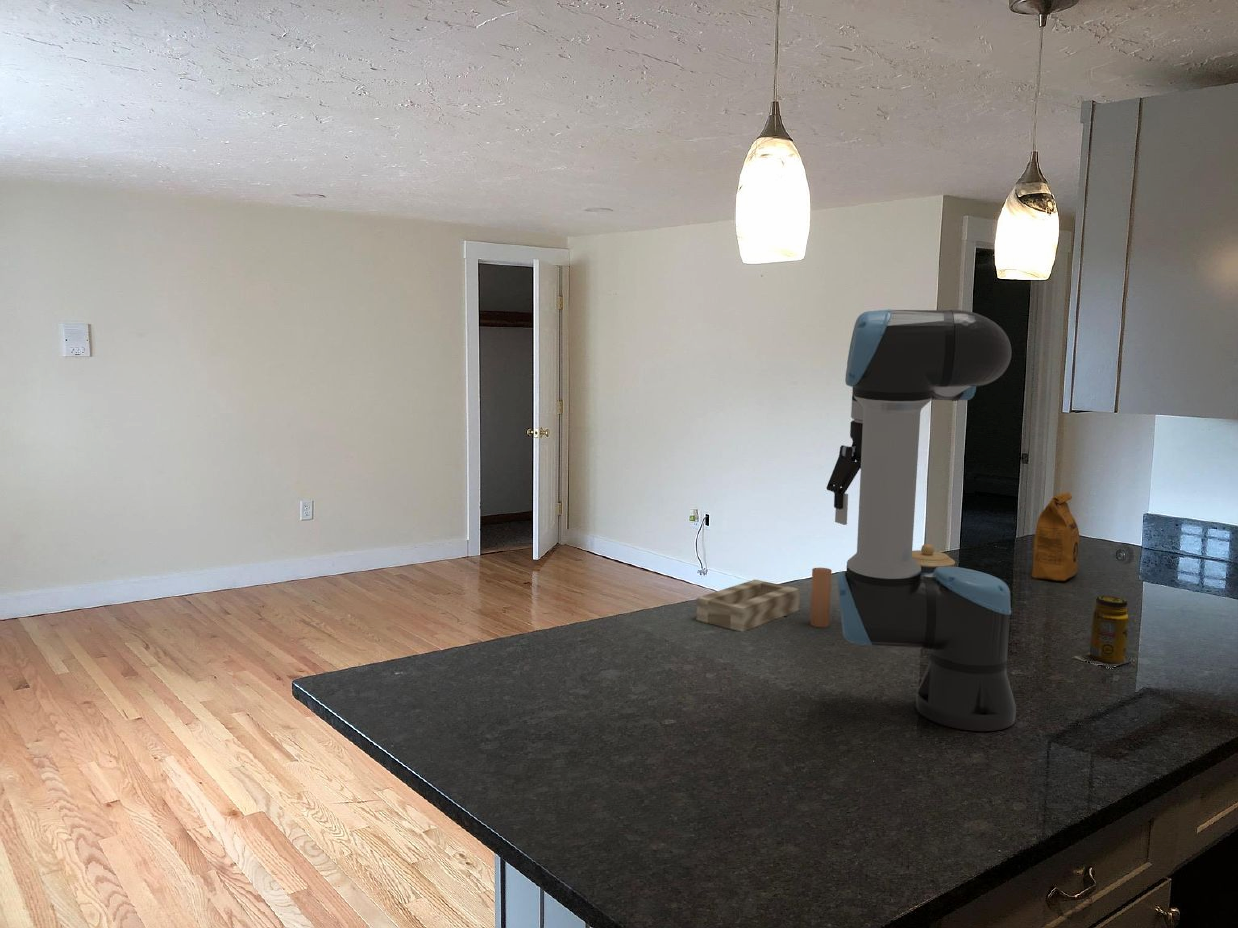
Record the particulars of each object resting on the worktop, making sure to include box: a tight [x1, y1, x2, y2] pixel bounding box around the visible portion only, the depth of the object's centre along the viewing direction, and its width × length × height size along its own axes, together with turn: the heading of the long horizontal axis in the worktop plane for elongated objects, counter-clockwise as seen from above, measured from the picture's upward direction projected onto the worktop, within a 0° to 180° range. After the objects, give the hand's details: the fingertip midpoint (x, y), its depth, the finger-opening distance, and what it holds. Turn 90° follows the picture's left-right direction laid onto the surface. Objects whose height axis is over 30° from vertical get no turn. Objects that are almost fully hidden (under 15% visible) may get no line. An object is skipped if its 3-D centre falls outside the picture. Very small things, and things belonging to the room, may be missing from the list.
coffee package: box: [1031, 492, 1081, 582], centre depth 236 cm, size 10×12×22 cm
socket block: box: [696, 579, 800, 633], centre depth 201 cm, size 22×12×5 cm, turn 137°
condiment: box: [1073, 595, 1135, 670], centre depth 173 cm, size 7×8×12 cm
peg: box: [809, 567, 833, 628], centre depth 194 cm, size 4×4×12 cm
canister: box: [912, 543, 956, 577], centre depth 195 cm, size 13×13×18 cm
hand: (864, 518), depth 194 cm, fingers open, 13 cm apart
